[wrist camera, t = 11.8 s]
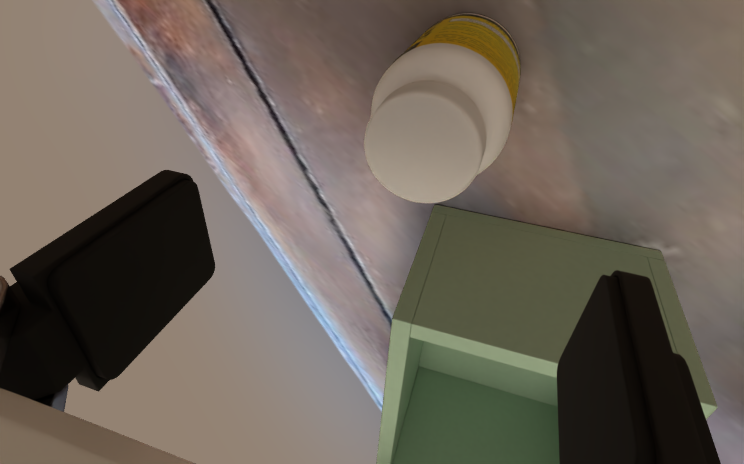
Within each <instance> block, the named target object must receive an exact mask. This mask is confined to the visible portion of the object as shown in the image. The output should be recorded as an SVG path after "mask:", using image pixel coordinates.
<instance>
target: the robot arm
mask: <svg viewBox="0 0 744 464" xmlns="http://www.w3.org/2000/svg"><path fill="white" fill-rule="evenodd" d="M214 270H215V262H214V257H213V253H212V249H211V244H210V239H209V235H208V231H207V226H206V222H205V217H204V213H203V208H202V204H201V200H200V195H199V191H198V187H197V184H196V183H195V182H193V179H192V178H191V177H190V176H189V175H187V174H184V173H179V172H175V171H170V170H164V171H161V172H160V173H158V174H156V175H155V176H153V177H152V178H150V179H149V180H147V181H145V182H144V183H142V184H141V185H139V186H138V187H136V188H135V189H133V190H132V191H130V192H128V193H127V194H125V195H124V196H122V197H121V198H119V199H117V200H116V201H115V202H113V203H112V204H110V205H108V206H107V207H105V208H104V209H102V210H101V211H99V212H97V213H96V214H94V215H93V216H91V217H90V218H88V219H86V220H85V221H83V222H82V223H80V224H79V225H77V226H76V227H74V228H73V229H71V230H69V231H68V232H66V233H65V234H63V235H62V236H60V237H59V238H57V239H55V240H54V241H52V242H51V243H49V244H48V245H46V246H45V247H43V248H41V249H40V250H38V251H37V252H36V253H34V254H32V255H31V256H29V257H28V258H26V259H24V260H23V261H22V262H20V263H18V264H17V265H15V266H14V267H12V268H10V271H11V272H12V274H13V276H14V277H15V279H16V281H17V282H16V283H14V284H13V285H12V286H9V285H8V283H7V281H6V280H5V279H4V278H3V277H2V276H0V464H195V463H193V462H190V461H187V460H185V459H182V458H180V457H177V456H175V455H172V454H170V453H167V452H165V451H162V450H159V449H157V448H154V447H152V446H149V445H147V444H144V443H142V442H139V441H137V440H134V439H132V438H129V437H126V436H124V435H121V434H119V433H116V432H114V431H111V430H108V429H106V428H103V427H101V426H98V425H96V424H93V423H91V422H88V421H85V420H82V419H80V418H78V417H75V416H73V415H70V414H67V413H65V412H64V409H65V403H66V397H67V391H68V383H70V382H71V381H72V380H73V379H74V378H76V379H77V381H78V383H79V384H80V385H83V386H86V387H88V388H91V389H94V390H96V391H99V390H100V389H101V388H102V387H103V386H104V385H105V384H106V383H107V382H108V381H109V380H111V379H114V378H116V377H118V376H119V375H120V374H121V373H122V372H123V371H124V370H125V369H126V368H127V367H128V365H129V364H130V363H131V362H132V361H133V360H134V359H135V358H136V357H137V356H138V355H139V354H140V353H141V352H142V351H143V349H144V348H145V347H146V346H147V345H148V344H149V343H150V342H151V341H152V340H153V339H154V338H155V336H157V335H158V333H159V332H160V331H161V330H162V329H163V328H164V327H165V326H166V325H167V324H168V323H169V322H170V321H171V320H172V319H173V318H174V316H175V315H176V314H177V313H178V312H179V311H180V310H181V309H182V308H183V307H184V306H185V305H186V304H187V303H188V301H189V300H190V299H191V298H192V297H193V296H194V295H195V294H196V293H197V292H198V291H199V290H200V289H201V288H202V287H203V286H204V285H205V284H206V283H207V281H208V280H209V279H210V278H211V277H212V275H213V273H214ZM557 401H558V430H559V460H560V464H721V463H720V460H719V457H718V454H717V451H716V448H715V445H714V442H713V439H712V436H711V433H710V430H709V427H708V424H707V421H706V418H705V415H704V412H703V409H702V406H701V403H700V400H699V397H698V394H697V391H696V388H695V385H694V382H693V379H692V376H691V373H690V370H689V367H688V365H687V363H686V361H685V359H684V358H683V357H682V356H681V355H680V354H676V353H673V351H672V347H671V344H670V341H669V338H668V334H667V331H666V328H665V325H664V321H663V318H662V315H661V312H660V309H659V305H658V302H657V299H656V296H655V292H654V289H653V286H652V283H651V280H650V278H648V277H646V276H642V275H637V274H633V273H628V272H624V271H619V270H616V271H614V272H613V273H612V274H611V276H608V275H602V276H601V277H600V279H599V280H598V282H597V284H596V286H595V288H594V290H593V292H592V294H591V296H590V298H589V300H588V303H587V305H586V307H585V309H584V311H583V313H582V315H581V317H580V319H579V321H578V323H577V325H576V327H575V329H574V331H573V333H572V335H571V337H570V339H569V341H568V343H567V345H566V347H565V349H564V351H563V353H562V355H561V357H560V360H559V363H558V367H557Z"/></svg>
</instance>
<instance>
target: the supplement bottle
mask: <svg viewBox="0 0 744 464" xmlns="http://www.w3.org/2000/svg"><path fill="white" fill-rule="evenodd" d="M520 71H521V64H520V56H519V52H518V49H517V46H516V44H515V42H514V40H513V38H512V37H511V35H510V34H509V32H508V31H507V30H506V29H505V28H504V27H503V26H502V25H500V24H499V23H498V22H496V21H494V20H493V19H491V18H489V17H486V16H483V15H479V14H471V13H463V14H457V15H452V16H449V17H447V18H445V19H443V20H441V21H439V22H437V23H436V24H434V25H433V26H432V27H430V28H429V29H428V30H427V31H425V33H424V34H423V35H422V36H421V37H419V39H418V40H416V41H415V42H414V43H413V44H412V45H411V46H410V47H409V48H408V49H407V50H406V51H405V52H404V53H403V54H402V55H400V56H399V57H398V58H397V59H396V60H395V61H394V62H393V63H392V65H391V66H390V67H389V68H388V69H387V71H386V72H385V73H384V75H383V76H382V78H381V79H380V81H379V83H378V85H377V87H376V90H375V92H374V96H373V99H372V105H371V118H370V120H369V123H368V125H367V128H366V132H365V137H364V150H365V155H366V159H367V162H368V165H369V167H370V169H371V171H372V173H373V174H374V176H375V177H376V179H377V180H378V181H379V182H380V183H381V184H382V185H383V186H384V187H385V188H386V189H388V190H389V191H390V192H392V193H393V194H395V195H397V196H399V197H401V198H403V199H406V200H409V201H412V202H417V203H437V202H442V201H445V200H448V199H451V198H453V197H455V196H457V195H458V194H460V193H461V192H463V191H464V190H465V189H466V188H467V187H468V186H469V185H470V184H471V183H472V181H473V180H474V178H475V177H476V175H478V174H480V173H481V172H483V171H484V170H485V169H486V168H487V167H489V166H490V165H491V164H492V163H493V162H494V161H495V159H496V158H497V157H498V156H499V154H500V153H501V151H502V149H503V147H504V145H505V143H506V141H507V138H508V135H509V132H510V128H511V125H512V119H513V113H514V108H515V103H516V97H517V92H518V87H519V81H520Z"/></svg>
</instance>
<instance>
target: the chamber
mask: <svg viewBox="0 0 744 464" xmlns="http://www.w3.org/2000/svg"><path fill="white" fill-rule="evenodd" d="M616 270H619V271H624V272H628V273H633V274H637V275H642V276H646V277H648V278H650V280H651V283H652V286H653V289H654V292H655V296H656V299H657V302H658V305H659V309H660V312H661V315H662V318H663V321H664V325H665V328H666V331H667V334H668V338H669V341H670V344H671V347H672V351H673V353H676V354H680V355H681V356H682V357H683V358H684V359H685V361H686V363H687V365H688V367H689V370H690V373H691V376H692V379H693V382H694V385H695V388H696V391H697V394H698V397H699V400H700V403H701V406H702V409H703V412H704V415H705V418H706V419H707V418H708V417H709V416H710V415H711V414H712V413H713V412H714V411H715V410H716V409H717V404H716V401H715V398H714V396H713V393H712V390H711V387H710V385H709V382H708V379H707V376H706V374H705V371H704V368H703V365H702V362H701V360H700V357H699V354H698V351H697V349H696V346H695V343H694V340H693V338H692V335H691V332H690V329H689V327H688V324H687V321H686V318H685V316H684V313H683V310H682V307H681V304H680V302H679V299H678V296H677V293H676V291H675V288H674V285H673V282H672V280H671V277H670V274H669V271H668V269H667V266H666V263H665V261H664V258H663V255H662V252H661V251H658V250H653V249H648V248H643V247H638V246H633V245H629V244H624V243H619V242H614V241H609V240H604V239H600V238H595V237H590V236H585V235H580V234H575V233H571V232H566V231H561V230H556V229H551V228H546V227H542V226H537V225H532V224H527V223H522V222H517V221H513V220H508V219H503V218H498V217H493V216H488V215H484V214H479V213H474V212H469V211H464V210H459V209H455V208H450V207H445V206H440V205H434V208H433V210H432V213H431V216H430V218H429V221H428V224H427V226H426V229H425V232H424V234H423V237H422V240H421V242H420V245H419V248H418V251H417V253H416V256H415V259H414V261H413V264H412V267H411V269H410V272H409V275H408V277H407V280H406V283H405V286H404V288H403V291H402V294H401V296H400V299H399V302H398V304H397V307H396V310H395V312H394V315H393V318H392V325H391V334H390V343H389V352H388V361H387V371H386V380H385V389H384V398H383V407H382V417H381V427H380V435H379V444H378V454H377V462H376V464H560V460H559V430H558V401H557V367H558V363H559V360H560V357H561V355H562V353H563V351H564V349H565V347H566V345H567V343H568V341H569V339H570V337H571V335H572V333H573V331H574V329H575V327H576V325H577V323H578V321H579V319H580V317H581V315H582V313H583V311H584V309H585V307H586V305H587V303H588V300H589V298H590V296H591V294H592V292H593V290H594V288H595V286H596V284H597V282H598V280H599V279H600V277H601V276H602V275H608V276H611V274H612V273H613V272H614V271H616Z"/></svg>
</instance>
